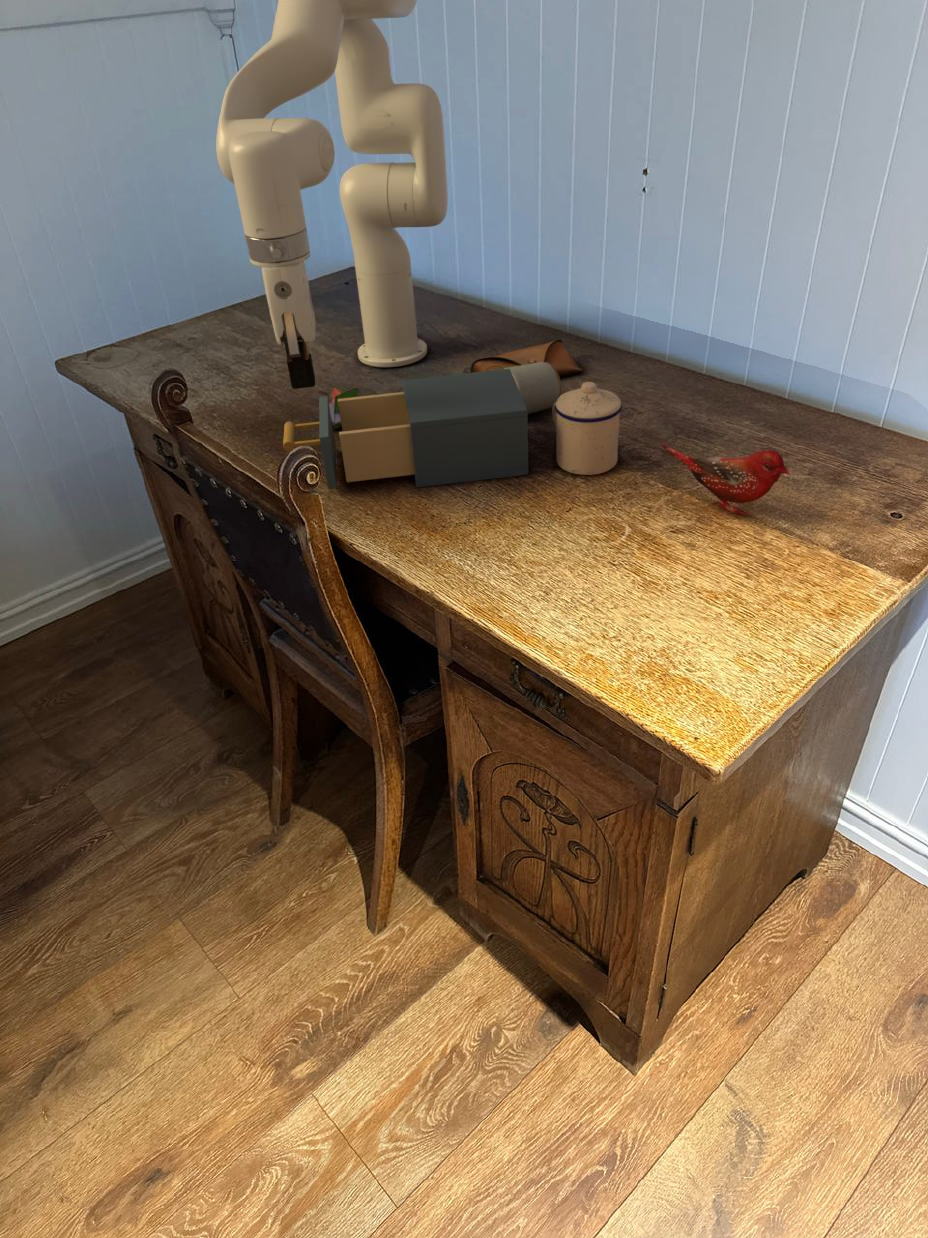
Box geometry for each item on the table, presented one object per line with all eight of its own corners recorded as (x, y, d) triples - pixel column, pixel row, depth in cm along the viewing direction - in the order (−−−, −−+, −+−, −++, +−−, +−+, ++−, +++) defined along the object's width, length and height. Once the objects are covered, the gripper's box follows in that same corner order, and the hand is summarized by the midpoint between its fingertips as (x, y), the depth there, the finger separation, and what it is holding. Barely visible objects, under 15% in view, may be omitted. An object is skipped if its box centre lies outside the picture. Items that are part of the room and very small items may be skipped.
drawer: (289, 493, 124) (278, 441, 119) (291, 450, 134) (282, 400, 129) (433, 477, 125) (428, 425, 120) (424, 435, 136) (419, 385, 131)
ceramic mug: (564, 412, 141) (564, 364, 136) (520, 425, 138) (519, 377, 133) (528, 390, 148) (527, 344, 144) (485, 403, 146) (483, 357, 141)
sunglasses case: (493, 395, 146) (482, 354, 145) (477, 402, 153) (466, 363, 152) (587, 369, 152) (577, 330, 151) (567, 378, 159) (557, 340, 158)
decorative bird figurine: (773, 534, 111) (786, 461, 105) (651, 490, 121) (657, 421, 115) (784, 524, 113) (798, 452, 106) (663, 481, 123) (669, 413, 116)
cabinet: (416, 487, 125) (409, 422, 119) (408, 441, 136) (402, 379, 130) (528, 474, 126) (527, 409, 120) (511, 429, 137) (509, 368, 131)
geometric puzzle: (383, 417, 138) (359, 369, 137) (347, 432, 135) (322, 383, 134) (364, 432, 144) (342, 386, 144) (329, 446, 141) (306, 400, 140)
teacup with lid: (632, 463, 127) (637, 385, 120) (582, 483, 123) (584, 404, 116) (578, 433, 135) (579, 358, 128) (529, 452, 131) (528, 376, 124)
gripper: (308, 261, 106) (332, 406, 117) (309, 225, 117) (330, 360, 129) (244, 267, 105) (274, 412, 117) (251, 231, 117) (278, 366, 128)
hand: (303, 384), depth 123 cm, fingers closed
